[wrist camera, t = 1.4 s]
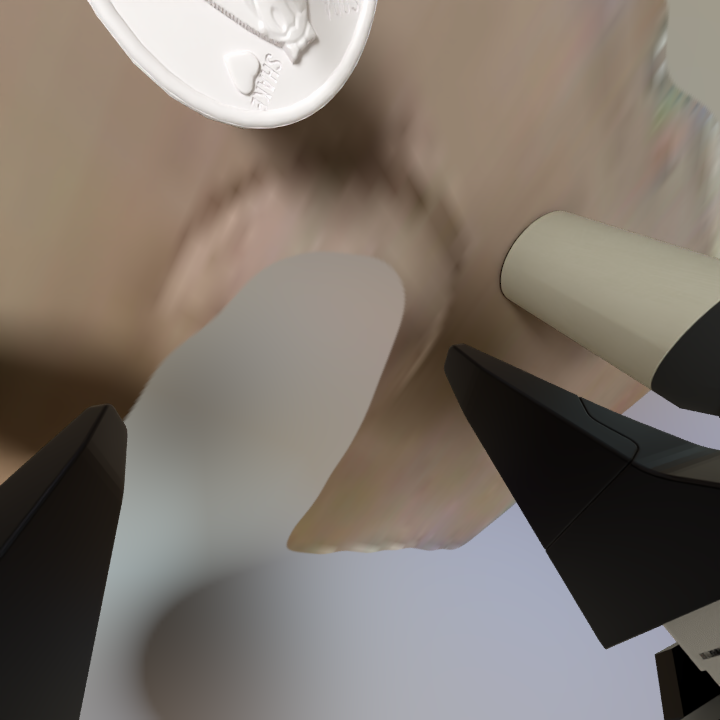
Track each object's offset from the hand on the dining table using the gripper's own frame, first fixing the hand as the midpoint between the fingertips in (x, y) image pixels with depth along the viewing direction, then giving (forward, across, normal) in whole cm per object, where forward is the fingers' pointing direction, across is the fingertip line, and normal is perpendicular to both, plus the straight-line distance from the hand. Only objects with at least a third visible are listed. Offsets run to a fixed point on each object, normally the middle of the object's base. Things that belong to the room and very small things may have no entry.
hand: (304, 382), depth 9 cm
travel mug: (+15, -23, +4) cm, 28 cm away
